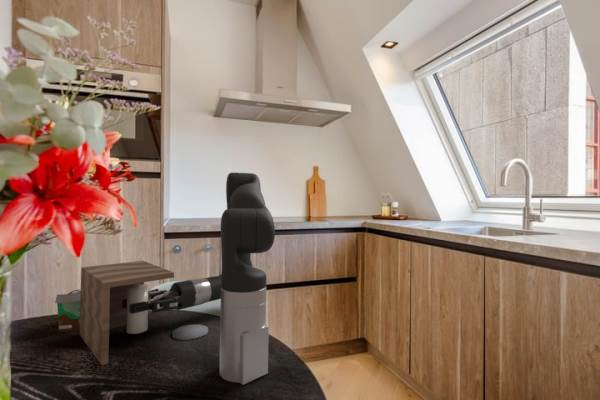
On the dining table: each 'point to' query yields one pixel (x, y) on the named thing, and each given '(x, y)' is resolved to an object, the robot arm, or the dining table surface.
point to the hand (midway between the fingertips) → (126, 306)
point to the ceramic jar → (140, 319)
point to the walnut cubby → (110, 299)
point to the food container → (69, 311)
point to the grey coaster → (189, 332)
